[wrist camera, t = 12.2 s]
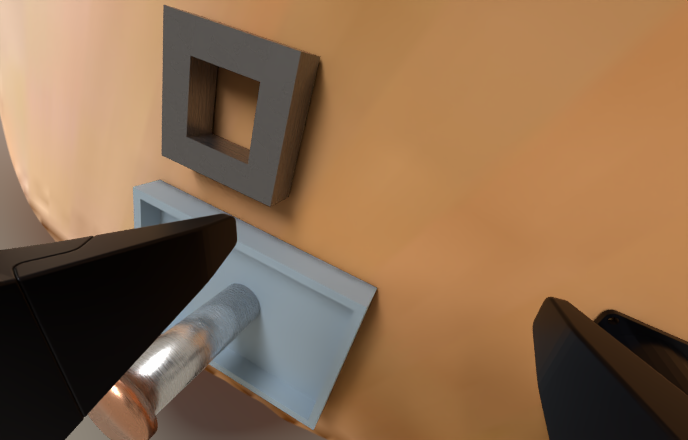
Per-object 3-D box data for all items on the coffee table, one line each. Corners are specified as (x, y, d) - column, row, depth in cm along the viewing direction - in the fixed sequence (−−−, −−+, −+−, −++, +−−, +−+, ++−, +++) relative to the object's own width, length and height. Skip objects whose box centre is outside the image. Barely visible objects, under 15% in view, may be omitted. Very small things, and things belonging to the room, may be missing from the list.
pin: (257, 275, 27) (117, 385, 17) (273, 329, 29) (155, 461, 18) (211, 275, 30) (63, 371, 19) (229, 324, 31) (100, 439, 20)
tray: (377, 287, 24) (367, 307, 22) (324, 406, 31) (313, 430, 29) (159, 179, 28) (133, 186, 26) (158, 304, 36) (137, 318, 33)
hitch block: (320, 56, 19) (300, 51, 17) (288, 196, 24) (270, 206, 22) (194, 14, 21) (163, 4, 19) (187, 150, 26) (161, 155, 24)
